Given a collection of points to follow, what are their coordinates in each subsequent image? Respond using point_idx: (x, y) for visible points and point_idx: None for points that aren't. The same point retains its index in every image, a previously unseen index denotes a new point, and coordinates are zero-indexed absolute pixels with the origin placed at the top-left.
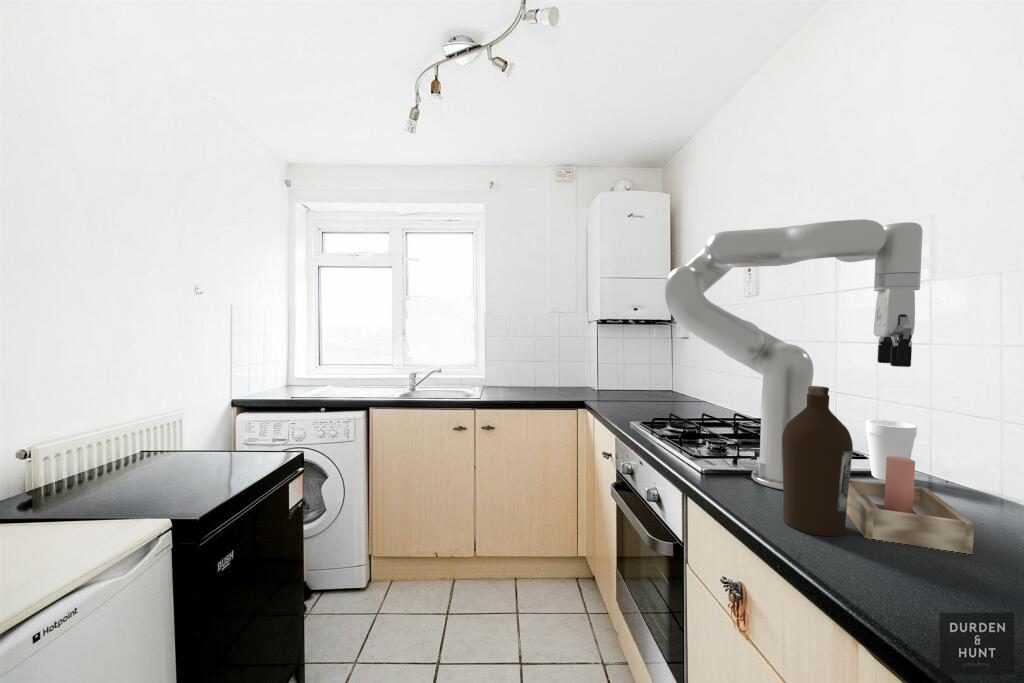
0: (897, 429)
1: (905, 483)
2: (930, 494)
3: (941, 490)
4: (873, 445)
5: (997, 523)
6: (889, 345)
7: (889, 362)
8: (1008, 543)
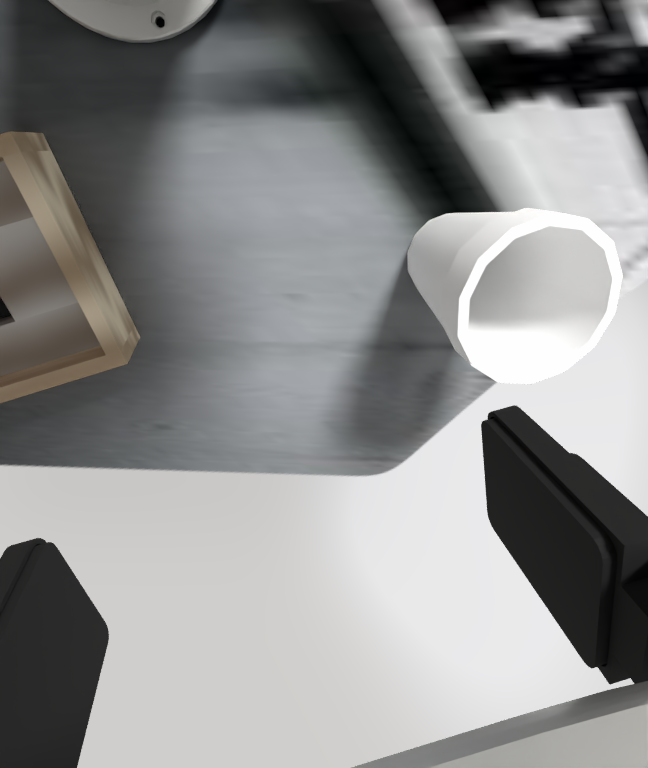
0: (454, 327)
1: None
2: (58, 373)
3: (392, 367)
4: (459, 231)
5: (193, 449)
6: (614, 629)
7: (487, 486)
8: (61, 459)
